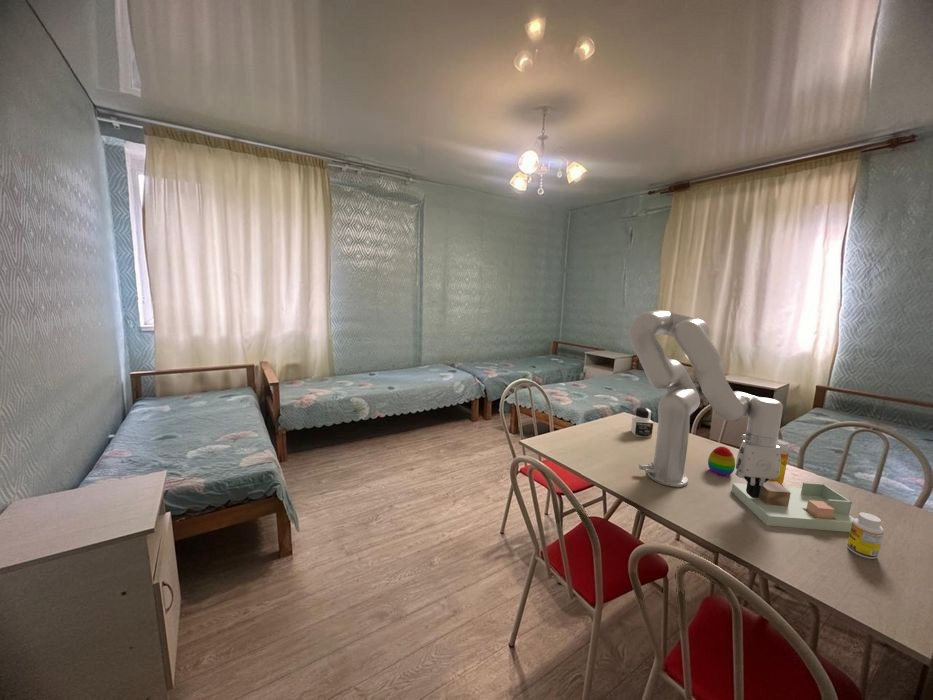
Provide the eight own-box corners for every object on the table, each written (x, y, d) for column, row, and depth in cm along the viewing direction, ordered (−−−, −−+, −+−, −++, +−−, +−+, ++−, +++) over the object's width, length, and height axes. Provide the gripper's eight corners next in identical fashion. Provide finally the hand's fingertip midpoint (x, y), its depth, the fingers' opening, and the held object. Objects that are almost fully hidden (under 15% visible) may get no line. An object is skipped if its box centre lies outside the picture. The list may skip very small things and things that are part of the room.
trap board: (766, 525, 110) (770, 503, 108) (731, 491, 127) (734, 471, 126) (859, 532, 107) (864, 510, 106) (809, 497, 125) (813, 477, 123)
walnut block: (766, 504, 115) (768, 490, 114) (754, 493, 120) (756, 480, 120) (788, 506, 114) (790, 492, 113) (774, 495, 120) (777, 482, 119)
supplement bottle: (845, 542, 103) (853, 507, 101) (875, 551, 100) (884, 516, 98) (847, 553, 99) (856, 517, 97) (878, 563, 95) (888, 526, 94)
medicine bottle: (634, 436, 171) (637, 410, 169) (630, 430, 178) (633, 405, 175) (651, 437, 170) (654, 412, 167) (647, 431, 176) (649, 406, 174)
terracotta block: (814, 527, 109) (818, 508, 108) (804, 518, 113) (808, 500, 112) (830, 528, 109) (834, 509, 108) (819, 519, 113) (823, 501, 112)
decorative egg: (738, 479, 135) (743, 452, 134) (715, 478, 136) (719, 451, 134) (724, 467, 143) (728, 442, 142) (702, 466, 144) (705, 441, 142)
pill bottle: (786, 487, 131) (794, 445, 128) (766, 484, 132) (773, 444, 129) (776, 478, 136) (783, 438, 134) (757, 476, 138) (764, 436, 135)
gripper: (741, 442, 111) (733, 500, 115) (797, 446, 110) (787, 504, 113) (727, 432, 119) (719, 487, 122) (779, 435, 117) (770, 490, 120)
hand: (752, 495), depth 117 cm, fingers closed
